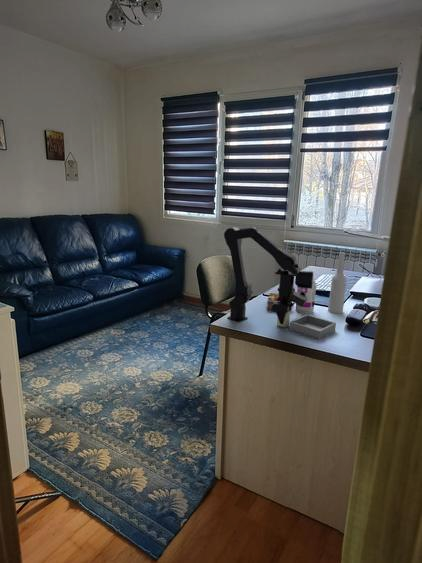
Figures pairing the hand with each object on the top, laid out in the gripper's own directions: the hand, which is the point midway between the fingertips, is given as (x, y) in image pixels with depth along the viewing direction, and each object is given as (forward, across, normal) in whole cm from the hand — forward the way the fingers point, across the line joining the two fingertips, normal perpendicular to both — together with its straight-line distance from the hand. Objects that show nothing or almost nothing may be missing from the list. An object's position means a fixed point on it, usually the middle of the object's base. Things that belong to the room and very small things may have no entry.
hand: (283, 321), depth 149 cm
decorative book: (+2, +24, +8) cm, 26 cm away
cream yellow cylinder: (+1, 0, 0) cm, 1 cm away
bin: (+2, 0, -12) cm, 12 cm away
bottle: (+2, +31, -18) cm, 36 cm away
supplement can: (+2, +24, -4) cm, 24 cm away
